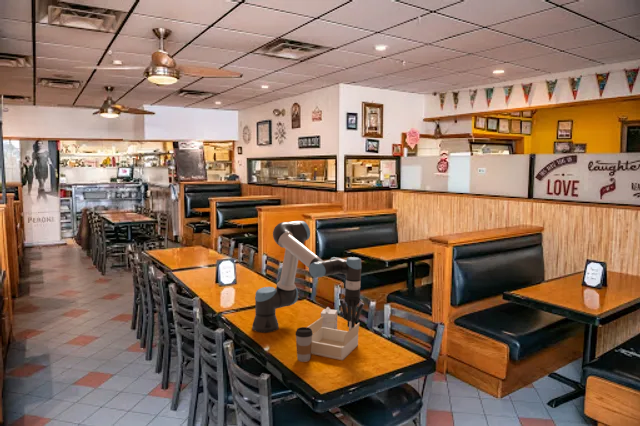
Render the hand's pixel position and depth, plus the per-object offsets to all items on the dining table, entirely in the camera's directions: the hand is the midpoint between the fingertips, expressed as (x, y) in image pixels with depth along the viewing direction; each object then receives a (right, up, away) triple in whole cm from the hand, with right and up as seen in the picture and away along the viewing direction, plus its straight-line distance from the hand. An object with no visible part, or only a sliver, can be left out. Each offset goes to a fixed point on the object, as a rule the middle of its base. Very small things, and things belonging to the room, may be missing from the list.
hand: (350, 333), depth 231 cm
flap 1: (-18, +1, +9) cm, 21 cm away
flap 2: (0, 0, 0) cm, 0 cm away
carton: (-10, -10, +6) cm, 15 cm away
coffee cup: (-24, -11, -8) cm, 27 cm away
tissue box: (-10, -7, +31) cm, 34 cm away
